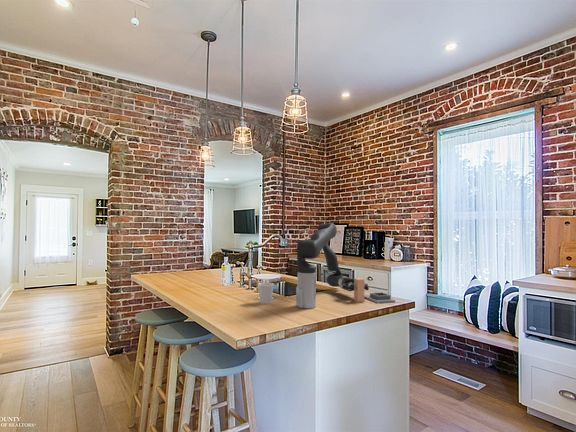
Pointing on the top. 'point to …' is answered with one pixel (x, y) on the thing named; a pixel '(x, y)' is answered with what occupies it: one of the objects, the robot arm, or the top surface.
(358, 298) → the terracotta peg
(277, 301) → the top surface
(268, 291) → the dixie cup
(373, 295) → the socket board
